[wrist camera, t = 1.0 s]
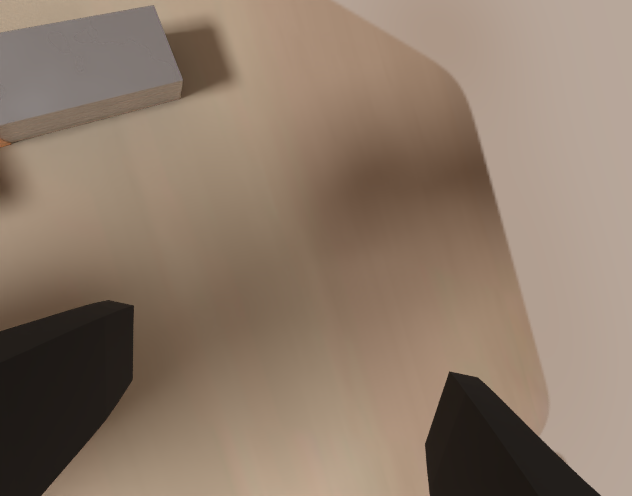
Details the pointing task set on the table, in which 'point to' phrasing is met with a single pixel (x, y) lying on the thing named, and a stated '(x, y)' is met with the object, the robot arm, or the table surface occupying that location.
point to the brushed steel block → (83, 72)
